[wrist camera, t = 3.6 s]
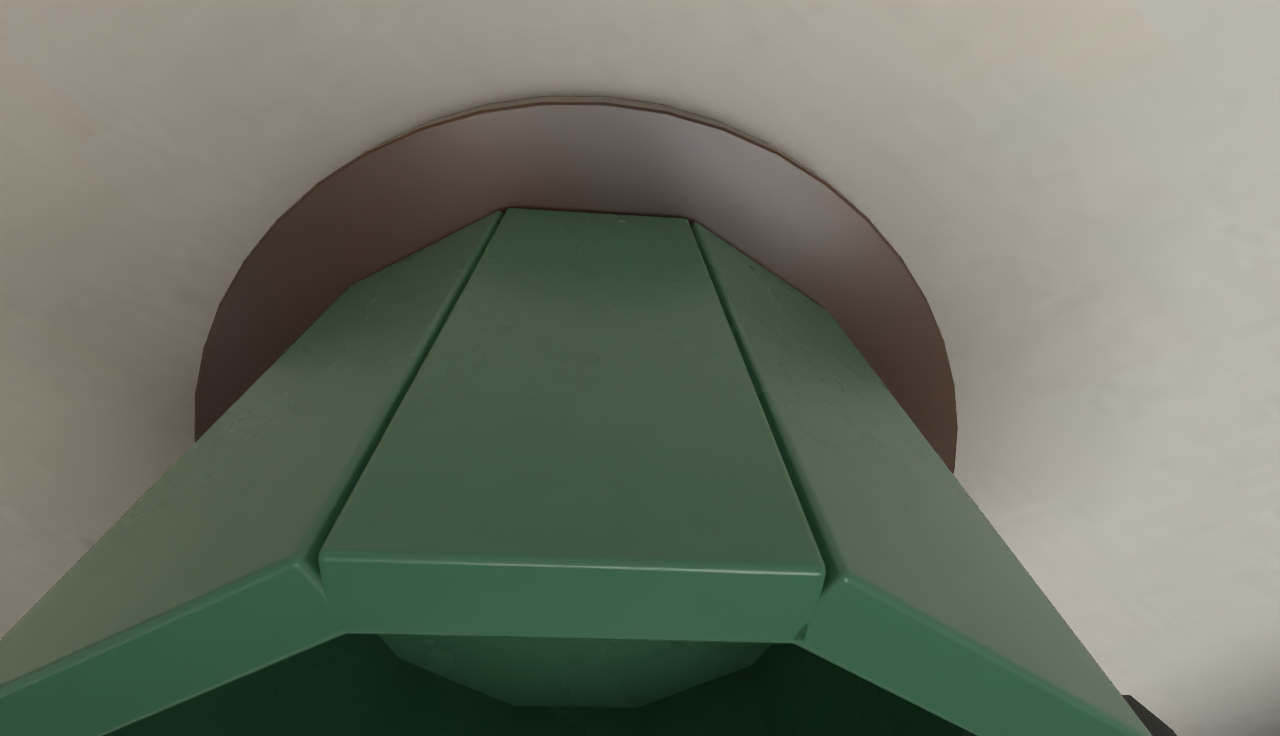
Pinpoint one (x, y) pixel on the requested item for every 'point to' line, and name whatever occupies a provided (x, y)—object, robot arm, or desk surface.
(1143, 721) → the robot arm
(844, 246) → the disc
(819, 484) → the pot
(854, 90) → the desk surface
